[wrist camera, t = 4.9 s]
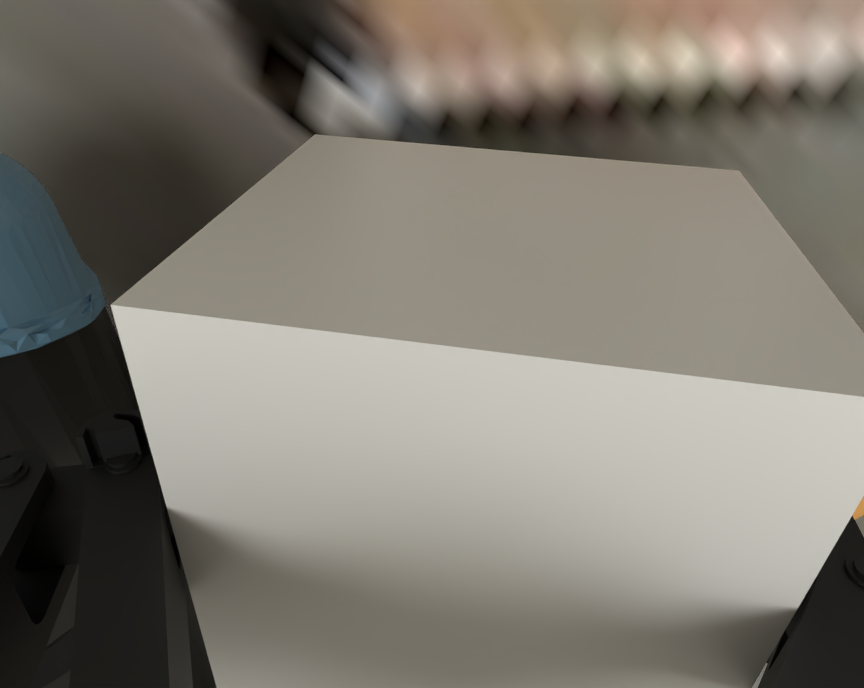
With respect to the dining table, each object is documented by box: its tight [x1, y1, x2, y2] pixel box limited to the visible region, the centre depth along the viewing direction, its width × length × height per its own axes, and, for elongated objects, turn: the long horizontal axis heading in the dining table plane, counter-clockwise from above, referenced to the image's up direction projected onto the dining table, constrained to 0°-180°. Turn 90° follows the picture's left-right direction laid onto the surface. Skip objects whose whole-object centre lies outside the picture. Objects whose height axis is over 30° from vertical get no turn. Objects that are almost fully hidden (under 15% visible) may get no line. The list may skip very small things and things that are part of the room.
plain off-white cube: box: [111, 134, 864, 688], centre depth 14 cm, size 10×10×9 cm
